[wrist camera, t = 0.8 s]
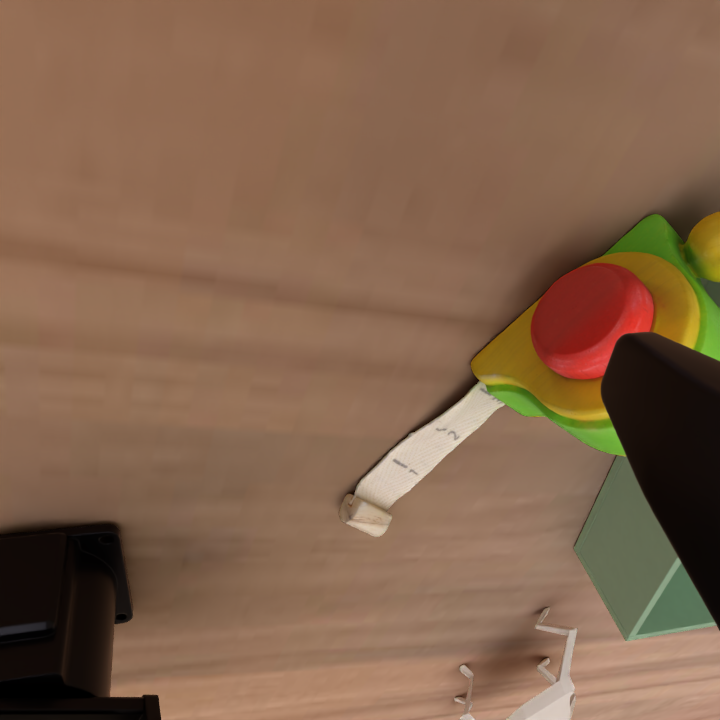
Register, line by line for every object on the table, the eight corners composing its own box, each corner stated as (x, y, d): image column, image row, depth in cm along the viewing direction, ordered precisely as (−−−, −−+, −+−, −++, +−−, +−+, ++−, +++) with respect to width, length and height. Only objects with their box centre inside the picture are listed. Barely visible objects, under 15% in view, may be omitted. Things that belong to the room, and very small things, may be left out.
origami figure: (548, 685, 47) (581, 760, 43) (434, 708, 45) (459, 788, 41) (597, 584, 40) (642, 663, 36) (464, 606, 38) (497, 692, 34)
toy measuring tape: (747, 238, 26) (887, 337, 21) (396, 531, 32) (439, 660, 27) (673, 133, 22) (820, 221, 17) (295, 484, 29) (323, 624, 24)
